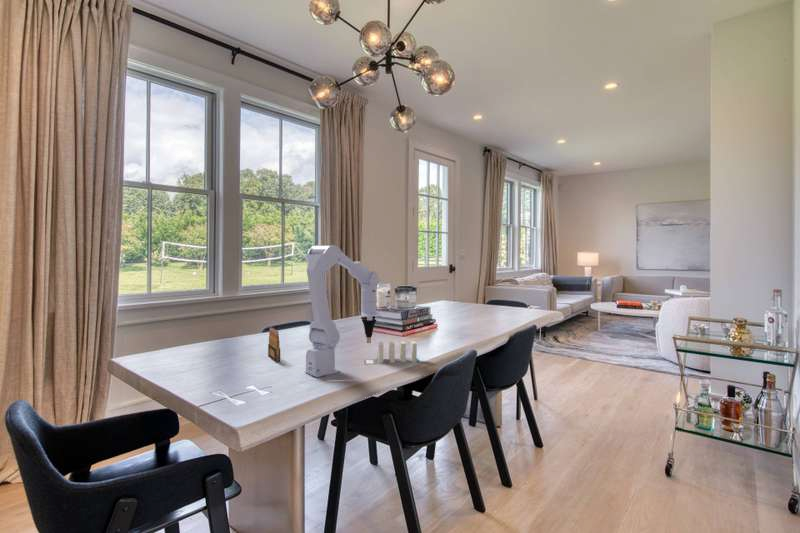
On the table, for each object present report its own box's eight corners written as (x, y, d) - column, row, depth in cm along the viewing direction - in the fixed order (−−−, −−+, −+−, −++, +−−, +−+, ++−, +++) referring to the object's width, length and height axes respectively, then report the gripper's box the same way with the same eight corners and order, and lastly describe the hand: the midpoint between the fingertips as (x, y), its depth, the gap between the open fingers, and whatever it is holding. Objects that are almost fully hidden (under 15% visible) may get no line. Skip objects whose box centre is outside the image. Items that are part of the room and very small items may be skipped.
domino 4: (412, 361, 154) (412, 343, 154) (410, 359, 158) (410, 341, 158) (416, 361, 154) (416, 343, 154) (414, 359, 158) (414, 341, 158)
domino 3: (401, 362, 154) (401, 343, 153) (399, 359, 158) (400, 341, 157) (405, 362, 154) (405, 343, 154) (404, 359, 158) (404, 341, 158)
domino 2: (390, 362, 153) (390, 344, 153) (389, 359, 157) (389, 341, 157) (394, 362, 153) (394, 344, 153) (393, 359, 157) (393, 341, 157)
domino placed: (366, 343, 159) (366, 325, 158) (366, 340, 162) (366, 323, 162) (370, 343, 159) (370, 325, 159) (370, 340, 163) (370, 323, 162)
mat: (364, 365, 150) (364, 364, 150) (363, 360, 157) (363, 359, 157) (420, 363, 153) (420, 362, 153) (417, 358, 160) (417, 357, 160)
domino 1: (379, 363, 152) (379, 344, 152) (378, 360, 156) (378, 342, 156) (383, 362, 153) (383, 344, 152) (382, 360, 157) (382, 341, 156)
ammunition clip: (268, 356, 163) (267, 326, 163) (272, 355, 164) (272, 326, 164) (275, 362, 154) (275, 331, 154) (280, 361, 155) (280, 330, 155)
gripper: (380, 303, 153) (380, 339, 154) (377, 299, 168) (377, 332, 168) (361, 303, 152) (361, 339, 153) (360, 299, 167) (359, 332, 167)
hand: (368, 335), depth 161 cm, fingers closed on domino placed, 4 cm apart
